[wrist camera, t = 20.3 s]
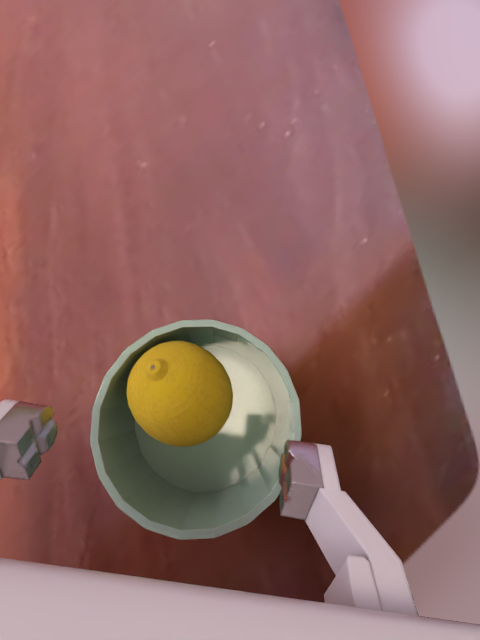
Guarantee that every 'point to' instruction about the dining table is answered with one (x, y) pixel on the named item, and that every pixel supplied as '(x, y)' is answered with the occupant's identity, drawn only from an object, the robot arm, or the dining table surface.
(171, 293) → the dining table surface
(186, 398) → the lemon
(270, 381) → the cup
